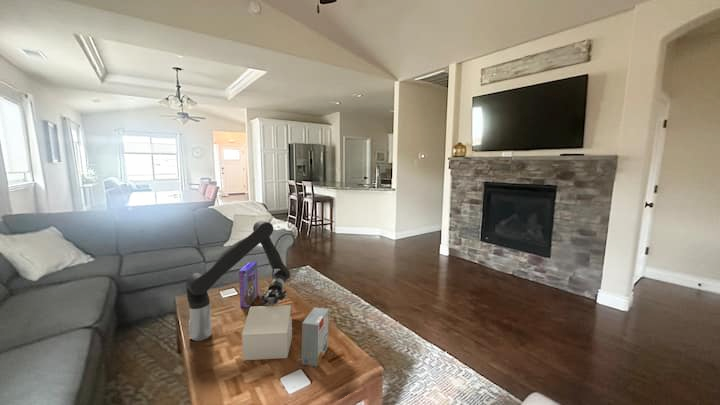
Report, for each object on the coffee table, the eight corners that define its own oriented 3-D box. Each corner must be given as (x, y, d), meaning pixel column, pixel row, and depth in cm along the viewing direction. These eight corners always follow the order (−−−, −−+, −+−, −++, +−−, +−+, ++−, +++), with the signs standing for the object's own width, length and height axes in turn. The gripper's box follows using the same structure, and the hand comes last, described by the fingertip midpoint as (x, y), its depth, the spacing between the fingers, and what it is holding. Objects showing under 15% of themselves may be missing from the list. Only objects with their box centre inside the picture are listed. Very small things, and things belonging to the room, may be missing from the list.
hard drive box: (317, 367, 128) (317, 325, 125) (301, 365, 129) (301, 323, 126) (328, 346, 143) (328, 308, 140) (313, 344, 144) (313, 306, 142)
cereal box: (248, 307, 180) (246, 270, 177) (240, 307, 180) (238, 270, 177) (258, 295, 197) (256, 261, 194) (251, 294, 197) (249, 261, 194)
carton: (242, 360, 132) (241, 335, 130) (252, 339, 147) (251, 317, 146) (287, 357, 134) (286, 333, 132) (292, 337, 149) (291, 315, 148)
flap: (241, 335, 130) (240, 330, 128) (252, 302, 147) (251, 297, 145) (286, 333, 132) (286, 328, 130) (291, 301, 149) (291, 296, 147)
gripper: (262, 281, 158) (255, 296, 141) (289, 280, 160) (284, 294, 143) (263, 294, 159) (255, 310, 143) (289, 293, 161) (284, 309, 144)
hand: (270, 302), depth 143 cm, fingers closed on flap, 4 cm apart
